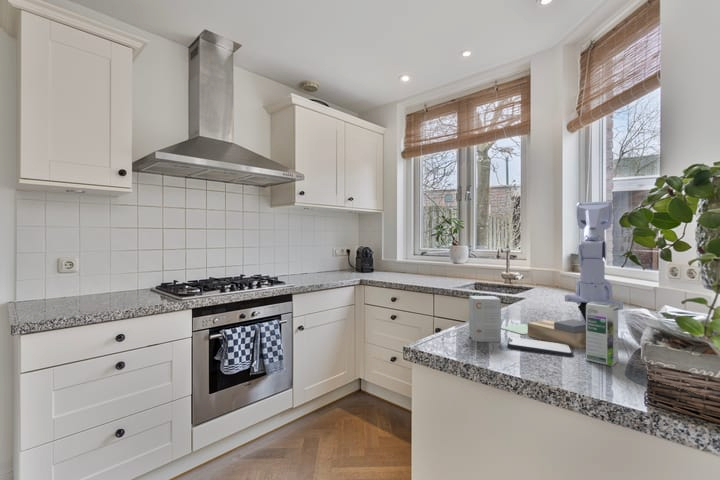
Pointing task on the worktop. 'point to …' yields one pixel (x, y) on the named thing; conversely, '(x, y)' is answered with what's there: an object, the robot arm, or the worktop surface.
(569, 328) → the tile
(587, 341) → the syrup box
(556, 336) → the wooden block
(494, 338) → the small box
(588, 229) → the robot arm
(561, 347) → the phone case
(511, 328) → the mat
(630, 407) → the worktop surface
